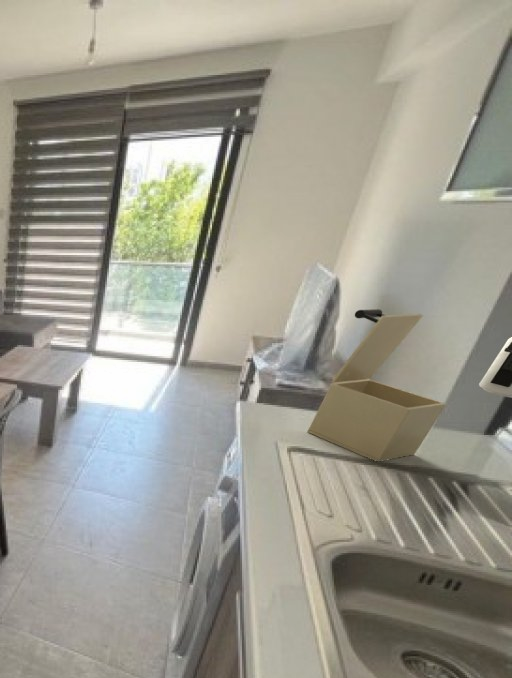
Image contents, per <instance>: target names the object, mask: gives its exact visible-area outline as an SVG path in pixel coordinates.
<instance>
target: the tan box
mask: <svg viewBox="0 0 512 678" xmlns="http://www.w3.org/2000/svg"><path fill="white" fill-rule="evenodd" d="M447 404H448V403H445V402H442V401H439V400H437V399H433V398H431V397H427V396H423V395H420V394H418V393H415V392H410V391H408V390H404V389H402V388H397V387H394V386H392V385H388V384H385V383H383V382H379V381H375V380H372V379H370V378H368V379H359V380H350V381H341V382H332V383H331V384H330V386H329V388H328V390H327V392H326V394H325V395H324V398H323V401H322V402H321V403H320V405H319V408H318V410H317V412H316V414H315V416H314V418H313V420H312V421H311V423H310V425H309V427H308V429H307V433H308V434H312V435H314V436H316V437H317V438H321V439H323V440H324V441H328V442H329V443H332V444H334V445H337V446H338V447H341V448H343V449H346V450H348V451H351V452H353V453H355V454H357V455H358V456H359V455H360V456H362V457H364V456H365V457H364V458H366V457H368V458H367V459H369V458H371V459H373V460H376V461H381V462H383V461H382V460H386V461H388V460H387V459H391V460H393V459H392V458H396V459H399V458H398V457H401V458H404V457H403V456H406V457H410V456H409V455H411V456H415V454H416V453H417V451H418V450H419V448H420V447H421V445H422V443H423V442H424V440H425V439H426V437H427V436H428V434H429V433H430V431H431V429H432V428H433V427H434V425H435V423H436V421H438V419H439V417H440V415H442V413H443V411H444V410H445V408H446V406H447ZM371 459H370V460H371ZM373 460H372V461H373ZM376 461H375V462H376Z"/></svg>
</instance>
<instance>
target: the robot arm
mask: <svg viewBox="0 0 512 678" xmlns="http://www.w3.org/2000/svg"><path fill="white" fill-rule="evenodd" d="M504 351H505V352H510V354H509V355H508V357H507V358H506V360H505V361H504V363H503V364H502V366H501V367H500V369H499V370H498V372H497V373H496V375H495V376H494V378H493V379H492V381H491V382H490V383H493V384H497V385H501V386H505V387H510V386H511V384H512V342H511V343H510V345H509V346H508V347H507V348H505V350H504Z"/></svg>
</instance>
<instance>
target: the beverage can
mask: <svg viewBox="0 0 512 678" xmlns="http://www.w3.org/2000/svg"><path fill="white" fill-rule="evenodd" d="M511 342H512V336H511V337H509V338H508V339H507V340H506V342H505V343H504V345H503V347H502V348H501V349H500V351H499V353H498V354H497V356H496V357H495V359H494V360H493V362H492V364H491V365H490V367H489V368H488V369H487V371H486V372H485V375H483V377H482V379H481V380H480V382H479V384H478V386H479V387H480V388H482V389H483V391H485V392H487V393H490V394H493V395H497V396H501V397H505V398H512V384H511V386H510V387H505V386H501V385H497V384H493V383H490V382H491V381H492V379H493V378H494V376H495V375H496V373H497V372H498V370H499V369H500V367H501V366H502V364H503V363H504V361H505V360H506V358H507V357H508V355H509V354H510V352H505V351H504V350H505V348H507V347H508V346H509V345H510V343H511Z"/></svg>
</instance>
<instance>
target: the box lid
mask: <svg viewBox="0 0 512 678" xmlns="http://www.w3.org/2000/svg"><path fill="white" fill-rule="evenodd" d="M354 317H355V318H356V319H366V320H368V321H370V322H373V323H375V324H374V325H373V327H372V328H371V329H370V331H369V332H368V333H367V334H366V335H365V337H364V338H363V339H362V341H361V342H360V343H359V345H358V346H357V347H356V349H354V350H353V352H352V354H351V355H350V356H349V357H348V359H347V360H346V361H345V362H344V364H343V365H342V366H341V367H340V369H339V370H338V371H337V373H336V374H335V375H334V376H333V378H332V379H331V381H330V382H332V383H339V382H348V381H357V380H366V379H371V378H372V377H373V376H374V375H375V374H376V373H377V371H378V370H379V369H380V368H381V367H382V365H383V364H384V363H385V362H386V360H388V358H390V356H391V355H392V353H393V352H394V351H395V350H396V349H397V348H398V347H399V345H400V344H401V343H402V342H403V340H405V338H406V337H407V336H408V335H409V333H410V332H411V331H412V330H413V329H414V328H415V326H416V325H418V323H419V321H420V320H421V319H422V318H423V317H424V314H422V313H411V314H409V313H407V314H390V315H385V314H383V311H382V310H381V309H379V308H376V309H375V308H374V309H373V308H371V309H358V310H356V311H355V313H354ZM378 318H379V319H378Z"/></svg>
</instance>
